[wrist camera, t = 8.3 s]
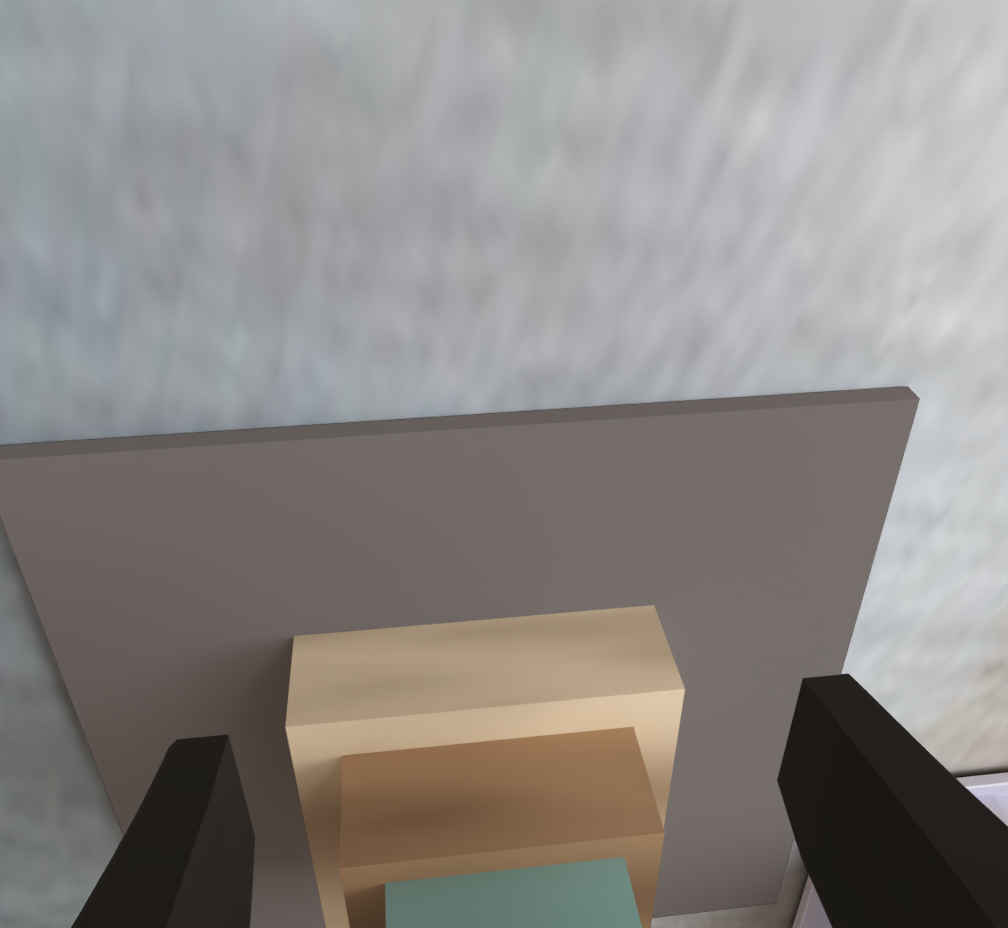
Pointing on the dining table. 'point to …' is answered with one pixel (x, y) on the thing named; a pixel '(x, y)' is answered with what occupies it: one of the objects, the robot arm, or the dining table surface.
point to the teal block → (518, 898)
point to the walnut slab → (496, 813)
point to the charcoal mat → (463, 585)
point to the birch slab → (471, 700)
